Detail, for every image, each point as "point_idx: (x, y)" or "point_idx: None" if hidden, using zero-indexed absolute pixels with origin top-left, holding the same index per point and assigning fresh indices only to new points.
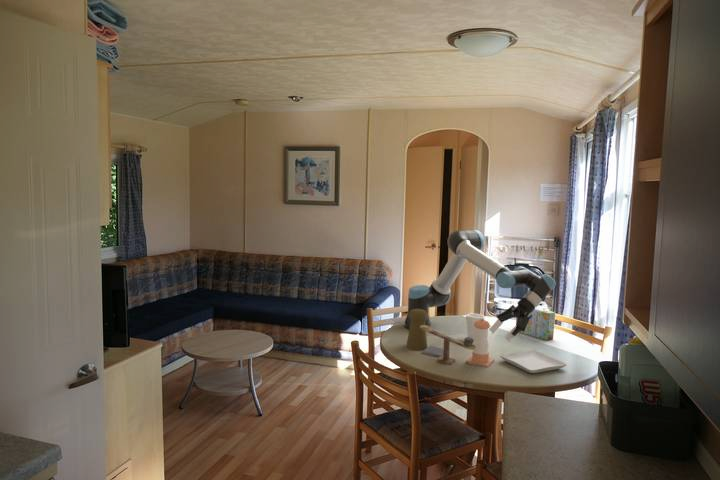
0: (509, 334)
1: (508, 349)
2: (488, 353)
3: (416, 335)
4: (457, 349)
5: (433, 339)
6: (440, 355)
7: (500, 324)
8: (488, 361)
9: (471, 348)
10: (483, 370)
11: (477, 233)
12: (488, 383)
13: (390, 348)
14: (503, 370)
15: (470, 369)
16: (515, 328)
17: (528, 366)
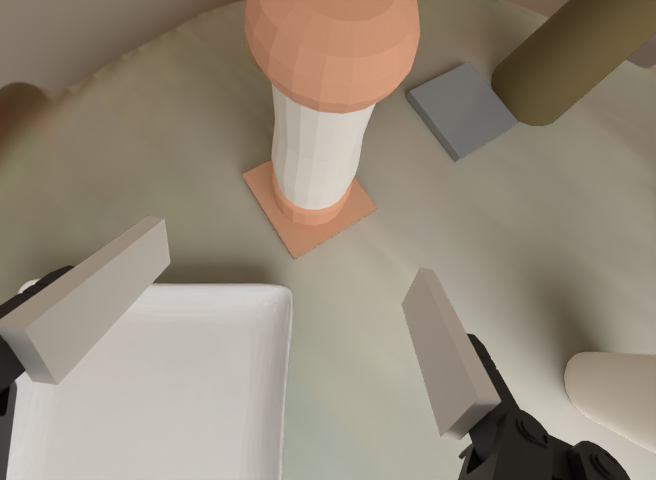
0: (113, 247)
1: (417, 470)
2: (282, 200)
3: (553, 15)
4: (475, 212)
5: (609, 201)
6: (411, 90)
7: (436, 400)
8: (277, 210)
9: None
10: (222, 142)
11: None
12: (105, 70)
13: (529, 16)
14: (180, 216)
15: (254, 107)
16: (11, 329)
17: (141, 363)
